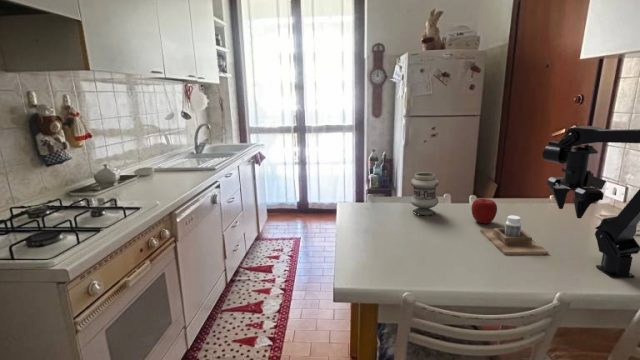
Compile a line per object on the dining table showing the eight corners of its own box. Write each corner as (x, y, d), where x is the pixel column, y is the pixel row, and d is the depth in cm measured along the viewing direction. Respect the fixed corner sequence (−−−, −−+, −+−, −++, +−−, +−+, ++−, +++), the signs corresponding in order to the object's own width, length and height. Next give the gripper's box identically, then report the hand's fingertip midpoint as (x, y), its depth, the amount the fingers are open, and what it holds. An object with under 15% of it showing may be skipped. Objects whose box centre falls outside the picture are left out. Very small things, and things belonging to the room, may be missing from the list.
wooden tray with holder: (547, 254, 114) (549, 244, 113) (503, 254, 115) (505, 244, 114) (517, 231, 134) (518, 222, 133) (480, 231, 134) (480, 223, 134)
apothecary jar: (404, 210, 162) (405, 172, 157) (427, 207, 165) (429, 169, 161) (419, 218, 150) (421, 177, 146) (443, 215, 154) (445, 175, 150)
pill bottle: (521, 242, 121) (523, 219, 119) (506, 241, 122) (508, 219, 120) (516, 237, 126) (519, 215, 124) (502, 236, 127) (504, 214, 125)
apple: (501, 224, 141) (503, 200, 139) (483, 228, 138) (485, 203, 136) (482, 217, 150) (484, 194, 147) (465, 220, 146) (466, 197, 144)
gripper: (627, 172, 101) (617, 223, 104) (582, 160, 119) (576, 204, 122) (586, 172, 101) (578, 223, 105) (549, 161, 119) (543, 204, 123)
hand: (569, 213), depth 114 cm, fingers open, 9 cm apart
